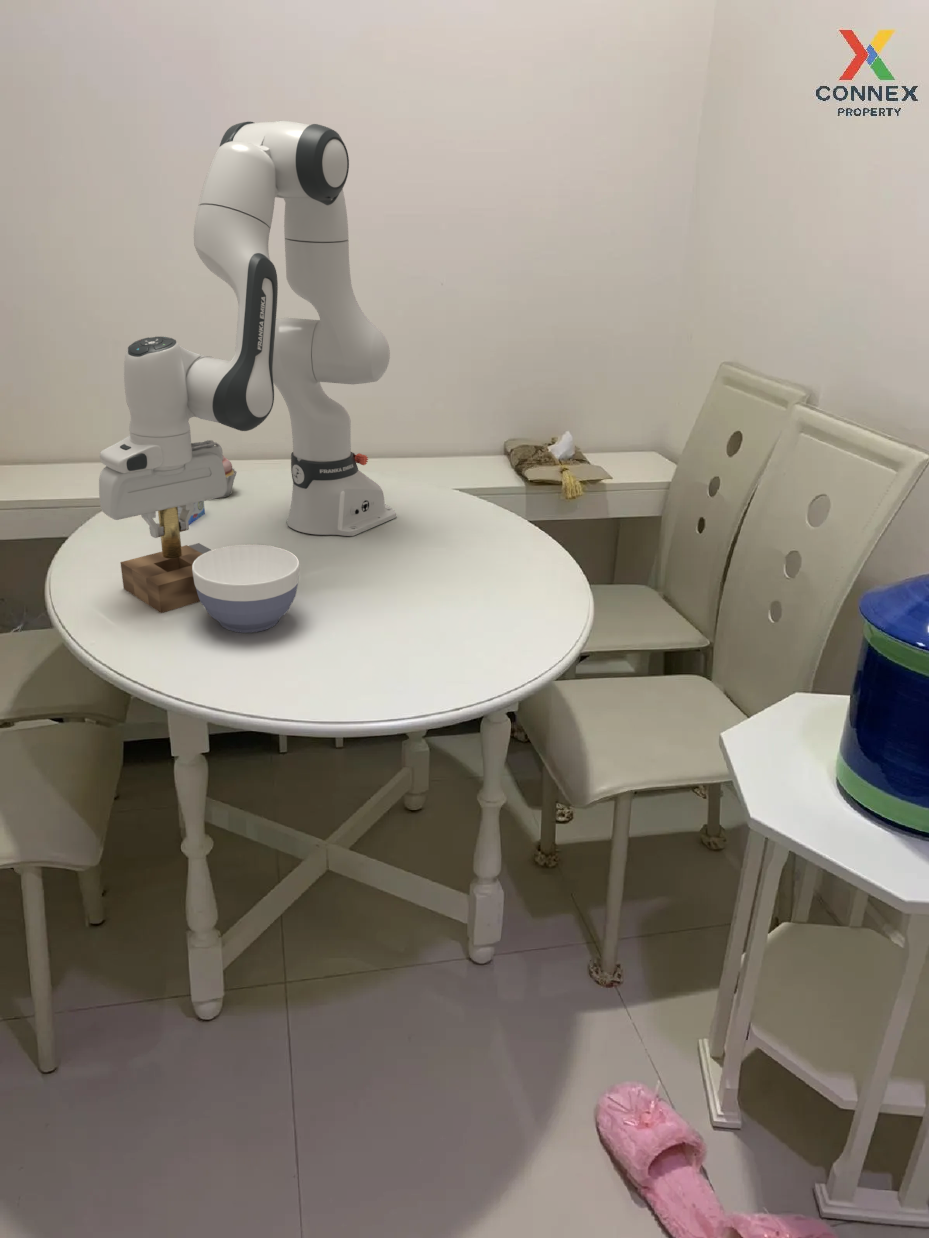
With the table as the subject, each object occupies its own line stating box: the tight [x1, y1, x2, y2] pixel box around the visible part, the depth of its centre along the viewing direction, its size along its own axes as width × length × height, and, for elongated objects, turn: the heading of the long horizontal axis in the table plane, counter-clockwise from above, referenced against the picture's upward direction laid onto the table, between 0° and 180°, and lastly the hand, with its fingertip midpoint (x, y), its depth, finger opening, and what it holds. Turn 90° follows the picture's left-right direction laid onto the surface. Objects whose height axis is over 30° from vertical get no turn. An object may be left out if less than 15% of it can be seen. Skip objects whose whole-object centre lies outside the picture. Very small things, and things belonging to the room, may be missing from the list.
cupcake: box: [218, 455, 238, 499], centre depth 195 cm, size 9×9×10 cm
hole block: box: [120, 544, 202, 614], centre depth 151 cm, size 12×12×5 cm
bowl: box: [192, 544, 300, 634], centre depth 143 cm, size 16×16×10 cm
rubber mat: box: [188, 542, 212, 554], centre depth 165 cm, size 10×8×1 cm
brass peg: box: [157, 507, 182, 559], centre depth 147 cm, size 3×3×10 cm
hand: (169, 533), depth 147 cm, fingers closed on brass peg, 3 cm apart
